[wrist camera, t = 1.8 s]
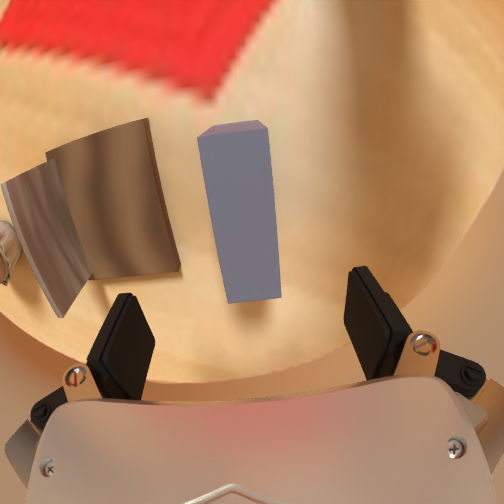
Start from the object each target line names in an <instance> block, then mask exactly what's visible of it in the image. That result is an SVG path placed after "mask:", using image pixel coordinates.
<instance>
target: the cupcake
mask: <svg viewBox="0 0 504 504" xmlns="http://www.w3.org/2000/svg"><path fill="white" fill-rule="evenodd" d="M21 250H22V247H21V243H20V241H19V238H18V236H17V233H16V230H15V229H14V228H13V226H12V225H10V224H9V223H8V222H6V221H0V284H1V283H2V284H3V285H5V286H7V284H8V280H10V279H11V277H12V273H13V269H14V266H15V265H16V263H17V261H18V260H19V258H20V255H21Z"/></svg>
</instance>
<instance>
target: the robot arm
mask: <svg viewBox="0 0 504 504" xmlns="http://www.w3.org/2000/svg"><path fill="white" fill-rule="evenodd" d="M344 324H345V327H346V329H347V332H348V334H349V337H350V339H351V342H352V344H353V347H354V349H355V351H356V354H357V356H358V359H359V362H360V364H361V367H362V369H363V372H364V374H365V377H366V380H367V381H362V382H358V383H353V384H348V385H343V386H339V387H332V388H328V389H322V390H316V391H310V392H304V393H298V394H290V395H282V396H274V397H265V398H255V399H243V400H227V401H200V402H167V401H142V400H141V397H142V393H143V389H144V385H145V381H146V377H147V373H148V369H149V365H150V361H151V358H152V354H153V350H154V347H155V338H154V336H153V334H152V332H151V329H150V327H149V325H148V323H147V321H146V318H145V316H144V314H143V311H142V309H141V307H140V304H139V302H138V300H137V298H136V296H133V294H132V293H121V294H118V296H117V298H116V300H115V302H114V303H113V305H112V307H111V309H110V311H109V313H108V315H107V317H106V319H105V321H104V323H103V325H102V327H101V329H100V331H99V333H98V336H97V338H96V340H95V342H94V344H93V346H92V348H91V351H90V353H89V355H88V357H87V363H86V365H85V364H75V365H73V366H71V367H70V368H69V369H67V370H66V371H65V373H64V375H63V378H62V383H63V386H62V387H60V388H59V389H57V390H56V391H54V392H53V393H51V394H49V395H48V396H46V397H45V398H43V399H42V400H40V401H38V402H37V403H36V404H35V405H34V406H33V408H32V410H31V420H30V421H29V420H28V419H27V420H26V421H25V422H24V423H23V424H22V425H21V427H20V428H19V429H18V430H17V431H16V432H15V433H14V434H13V435H12V436H11V438H10V439H9V440H8V441H7V443H6V445H5V454H6V457H7V458H8V460H9V462H10V463H11V465H12V467H13V468H14V470H15V472H16V473H17V475H18V476H19V478H20V479H21V481H22V482H23V484H24V485H25V486H26V488H27V495H26V503H25V504H498V502H497V497H496V493H495V489H494V485H493V481H492V477H491V473H492V472H493V470H494V468H495V467H496V465H497V463H498V462H499V460H500V458H501V456H502V455H503V453H504V387H503V386H501V385H500V384H498V383H497V382H496V381H494V380H493V379H490V380H487V379H486V374H485V371H484V369H483V368H482V366H480V365H479V364H478V363H475V362H474V361H471V360H468V359H465V358H463V357H459V356H457V355H454V354H451V353H449V352H446V351H443V350H440V343H439V340H438V339H437V338H436V336H434V335H433V334H432V333H430V332H427V331H415V332H413V331H412V329H411V328H410V326H409V324H408V323H407V321H406V320H405V318H404V316H403V315H402V313H401V312H400V310H399V309H398V307H397V306H396V304H395V303H394V301H393V300H392V298H391V297H390V295H389V294H388V293H386V292H384V291H383V289H382V288H381V286H380V285H379V283H378V282H377V280H376V279H375V277H374V276H373V275H372V273H371V272H370V270H369V269H368V267H367V266H360V267H354V268H353V269H352V271H350V272H349V275H348V285H347V295H346V303H345V312H344Z"/></svg>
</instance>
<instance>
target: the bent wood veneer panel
mask: <svg viewBox="0 0 504 504" xmlns="http://www.w3.org/2000/svg"><path fill="white" fill-rule="evenodd" d="M45 154H46V158H47V162H45V163H43V164H41V165H38V166H36V167H34V168H32V169H30V170H28V171H26V172H24V173H22V174H20V175H18V176H16V177H14V178H12V179H10V180H8V181H7V182H5V183H3V184H1V188H2V192H3V195H4V198H5V202H6V205H7V208H8V211H9V214H10V217H11V220H12V222H13V225H14V228H15V230H16V233H17V236H18V238H19V241H20V243H21V246H22V248H23V250H24V253H25V255H26V257H27V259H28V262H29V264H30V266H31V268H32V270H33V272H34V274H35V276H36V278H37V280H38V282H39V284H40V286H41V288H42V290H43V292H44V294H45V296H46V298H47V299H48V301H49V303H50V305H51V307H52V308H53V310H54V312H55V313H56V315H57V317H58V318H64V316H65V314H66V313H67V311H68V309H69V308H70V306H71V305H72V303H73V302H74V300H75V298H76V297H77V295H78V294H79V292H80V291H81V289H82V288H83V286H84V285H85V283H86V282H87V281H88V280H97V279H107V278H118V277H128V276H138V275H148V274H158V273H167V272H177V271H179V268H180V265H181V263H180V259H179V256H178V252H177V248H176V244H175V241H174V237H173V233H172V229H171V225H170V221H169V217H168V213H167V209H166V205H165V200H164V196H163V191H162V187H161V182H160V178H159V173H158V168H157V164H156V159H155V153H154V148H153V143H152V138H151V132H150V126H149V121H148V118H145V119H141V120H137V121H133V122H130V123H126V124H123V125H119V126H116V127H113V128H110V129H106V130H103V131H100V132H97V133H94V134H92V135H89V136H86V137H83V138H80V139H78V140H75V141H72V142H70V143H67V144H65V145H62V146H60V147H57V148H55V149H53V150H50V151H48V152H46V153H45Z"/></svg>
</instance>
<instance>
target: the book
mask: <svg viewBox="0 0 504 504" xmlns="http://www.w3.org/2000/svg"><path fill="white" fill-rule="evenodd" d="M197 140H198V146H199V152H200V158H201V164H202V170H203V176H204V182H205V188H206V193H207V199H208V205H209V210H210V215H211V221H212V226H213V232H214V237H215V242H216V247H217V252H218V257H219V262H220V267H221V272H222V277H223V282H224V287H225V291H226V296H227V301H228V304H229V303H239V302H248V301H258V300H266V299H275V298H282V297H281V281H280V266H279V252H278V238H277V225H276V213H275V201H274V189H273V178H272V167H271V157H270V147H269V137H268V128H267V127H265V126H264V125H263V124H262V123H261V122H259V121H258V120H254V121H245V122H237V123H229V124H222V125H215V126H213V127H211V128H210V129H208V130H207V131H205V132H204V133H203V134H201V135H200V136H198V137H197Z"/></svg>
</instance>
